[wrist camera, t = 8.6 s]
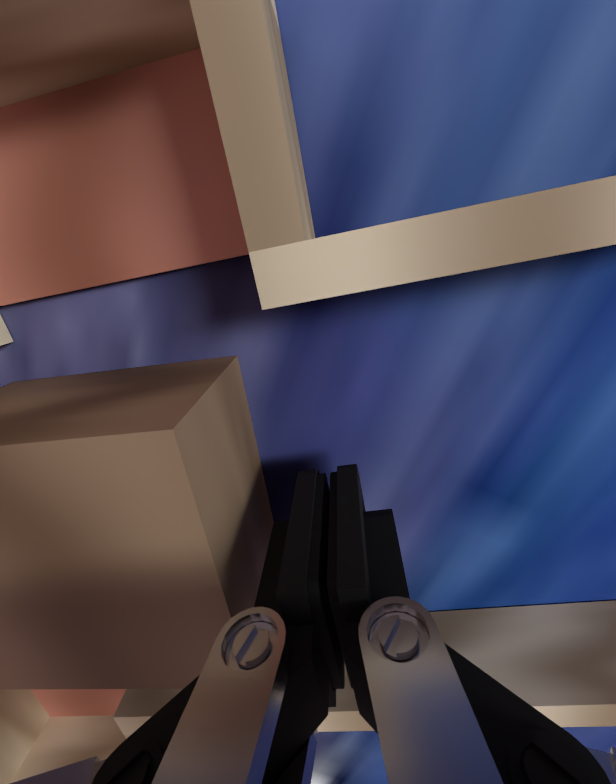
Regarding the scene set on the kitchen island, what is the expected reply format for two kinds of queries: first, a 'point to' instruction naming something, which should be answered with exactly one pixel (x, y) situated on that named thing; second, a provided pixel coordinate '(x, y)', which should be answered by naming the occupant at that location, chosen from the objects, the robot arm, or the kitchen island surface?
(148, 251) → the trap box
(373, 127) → the kitchen island surface
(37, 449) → the walnut block
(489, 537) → the kitchen island surface
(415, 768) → the robot arm
